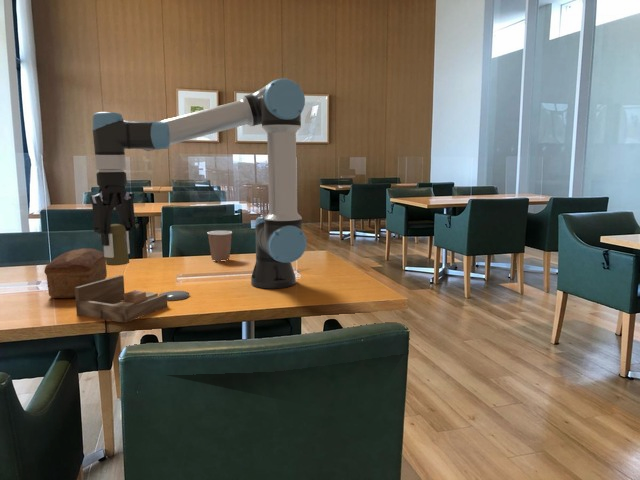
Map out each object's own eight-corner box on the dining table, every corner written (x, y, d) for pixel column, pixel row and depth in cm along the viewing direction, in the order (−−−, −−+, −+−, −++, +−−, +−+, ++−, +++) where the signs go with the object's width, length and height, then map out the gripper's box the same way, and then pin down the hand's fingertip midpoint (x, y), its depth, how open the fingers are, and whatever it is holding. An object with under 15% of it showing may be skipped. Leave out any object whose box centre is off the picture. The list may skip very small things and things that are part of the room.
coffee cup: (238, 259, 206) (237, 231, 204) (221, 263, 197) (220, 234, 195) (220, 257, 211) (219, 229, 209) (202, 261, 202) (201, 232, 200)
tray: (167, 306, 138) (166, 280, 137) (125, 322, 124) (123, 294, 123) (121, 299, 145) (120, 275, 144) (76, 314, 130) (74, 287, 129)
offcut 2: (146, 311, 134) (145, 291, 133) (136, 315, 130) (135, 295, 129) (135, 309, 135) (134, 290, 135) (124, 313, 132) (123, 293, 131)
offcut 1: (135, 315, 130) (134, 303, 129) (123, 320, 126) (123, 307, 126) (123, 314, 131) (122, 301, 131) (112, 318, 128) (111, 305, 127)
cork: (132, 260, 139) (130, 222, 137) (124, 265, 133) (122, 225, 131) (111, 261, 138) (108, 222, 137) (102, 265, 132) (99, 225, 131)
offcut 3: (158, 306, 138) (157, 293, 138) (148, 310, 134) (147, 296, 134) (147, 305, 140) (146, 291, 139) (137, 309, 136) (136, 295, 135)
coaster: (195, 294, 151) (195, 292, 151) (176, 301, 143) (176, 299, 143) (172, 291, 154) (171, 289, 154) (152, 298, 146) (152, 296, 146)
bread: (41, 302, 142) (37, 261, 140) (69, 279, 169) (66, 245, 167) (92, 299, 145) (89, 259, 143) (111, 278, 172) (109, 244, 170)
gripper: (125, 170, 141) (131, 249, 145) (72, 171, 125) (80, 260, 128) (145, 170, 138) (150, 250, 142) (94, 172, 122) (101, 262, 125)
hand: (117, 255), depth 135 cm, fingers closed on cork, 5 cm apart
